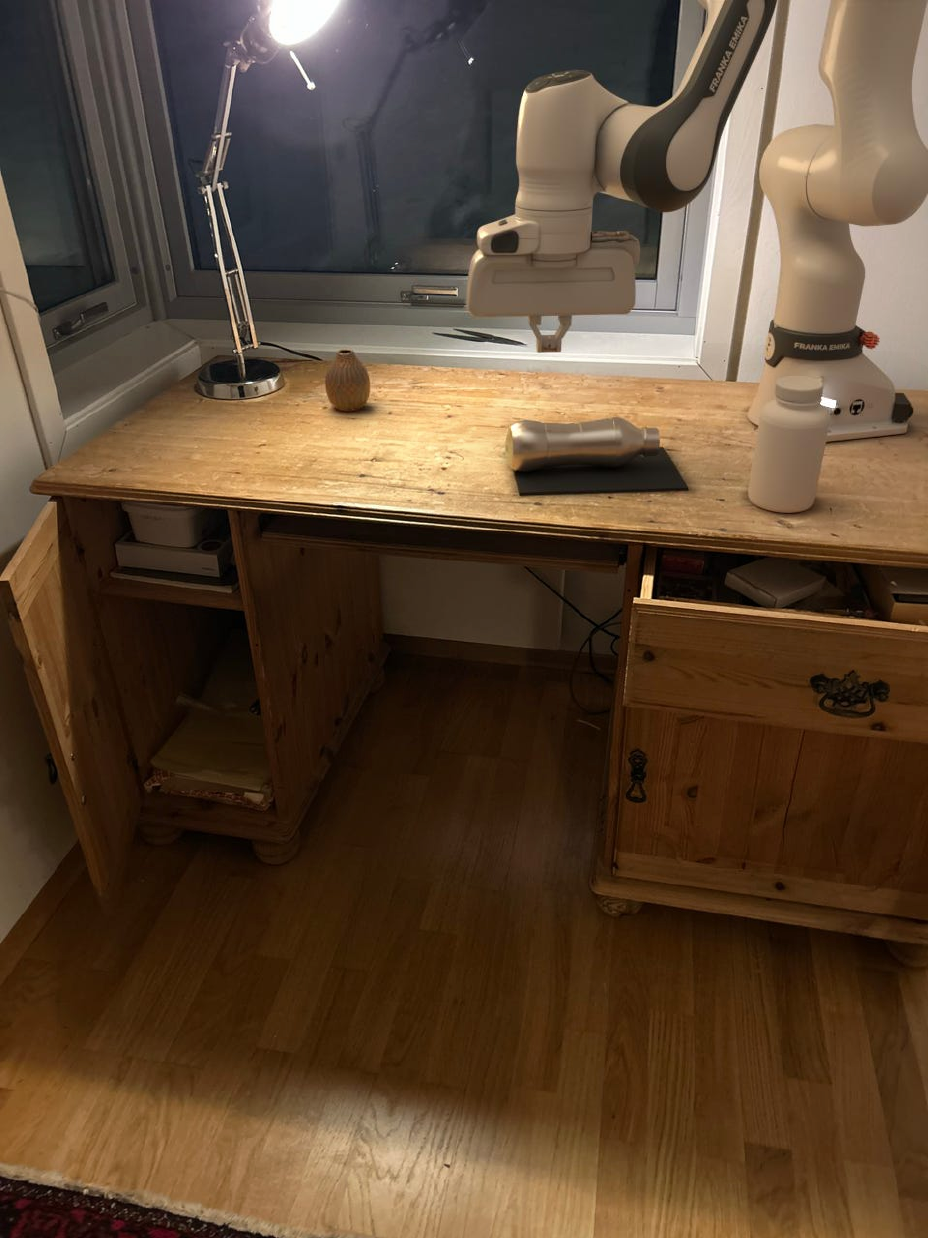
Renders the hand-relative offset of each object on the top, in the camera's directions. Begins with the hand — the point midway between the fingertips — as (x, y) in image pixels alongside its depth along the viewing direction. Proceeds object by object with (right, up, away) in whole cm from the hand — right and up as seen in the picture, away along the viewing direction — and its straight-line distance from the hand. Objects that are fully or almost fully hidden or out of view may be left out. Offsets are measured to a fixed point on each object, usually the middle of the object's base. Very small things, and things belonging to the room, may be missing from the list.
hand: (548, 351), depth 118 cm
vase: (-28, 0, +31) cm, 42 cm away
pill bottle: (+29, -19, 0) cm, 34 cm away
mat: (+7, -14, +9) cm, 17 cm away
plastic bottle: (-5, -11, +6) cm, 13 cm away
